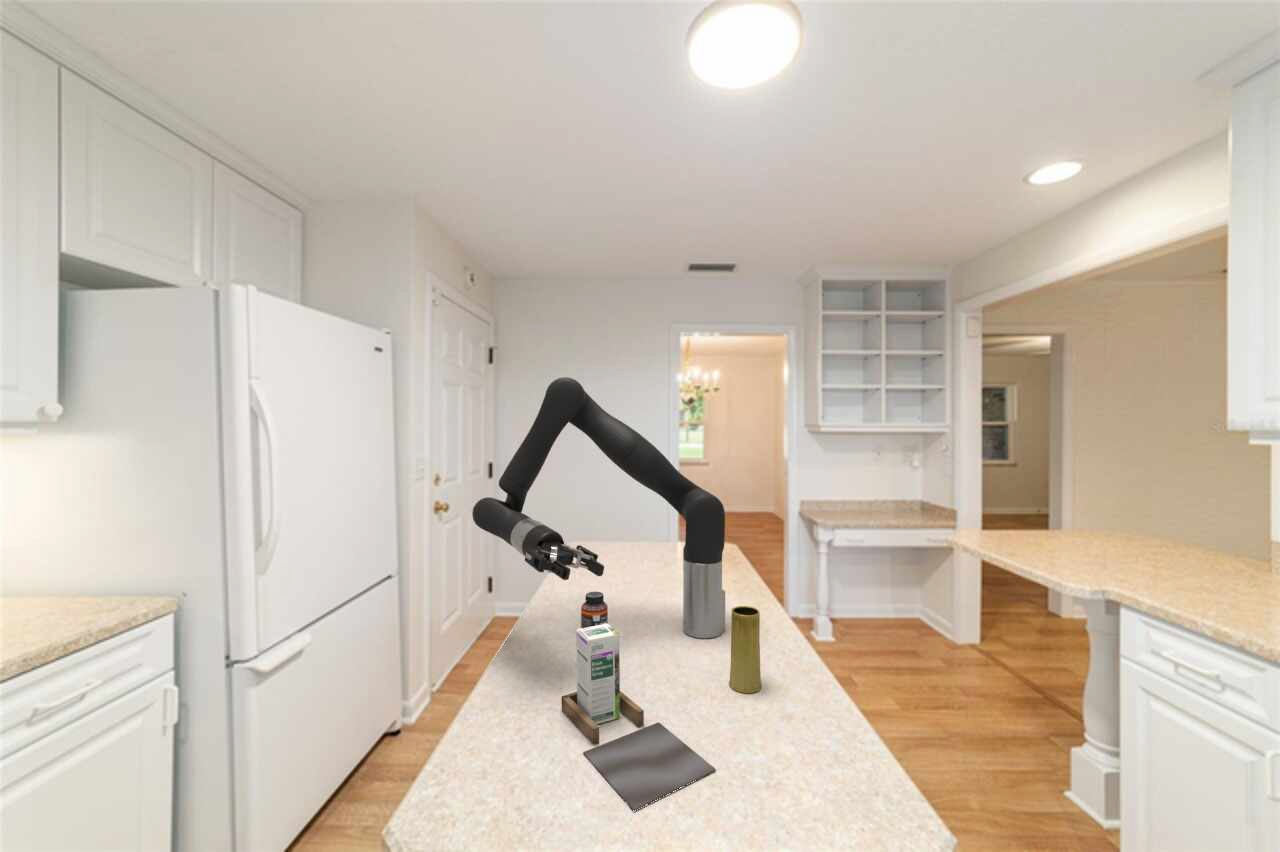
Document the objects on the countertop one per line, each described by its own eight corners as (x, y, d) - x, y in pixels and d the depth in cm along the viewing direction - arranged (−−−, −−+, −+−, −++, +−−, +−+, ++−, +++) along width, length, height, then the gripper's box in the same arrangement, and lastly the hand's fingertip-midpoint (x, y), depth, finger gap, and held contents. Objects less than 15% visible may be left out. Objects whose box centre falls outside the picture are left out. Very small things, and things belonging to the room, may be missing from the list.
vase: (763, 680, 100) (763, 607, 100) (759, 696, 95) (760, 618, 94) (731, 675, 102) (731, 603, 102) (726, 690, 97) (726, 614, 96)
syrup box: (588, 728, 85) (588, 639, 85) (576, 710, 90) (576, 627, 90) (620, 719, 87) (620, 633, 87) (606, 702, 93) (606, 621, 93)
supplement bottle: (603, 651, 113) (603, 599, 113) (577, 648, 114) (577, 597, 114) (610, 639, 119) (610, 590, 119) (585, 637, 120) (585, 589, 120)
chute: (549, 715, 89) (549, 700, 89) (619, 691, 96) (619, 677, 96) (634, 812, 67) (634, 792, 67) (715, 771, 74) (715, 753, 74)
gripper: (511, 524, 103) (560, 556, 92) (567, 524, 113) (617, 552, 102) (503, 560, 103) (550, 596, 92) (559, 556, 114) (608, 588, 103)
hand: (585, 573), depth 97 cm, fingers open, 8 cm apart
